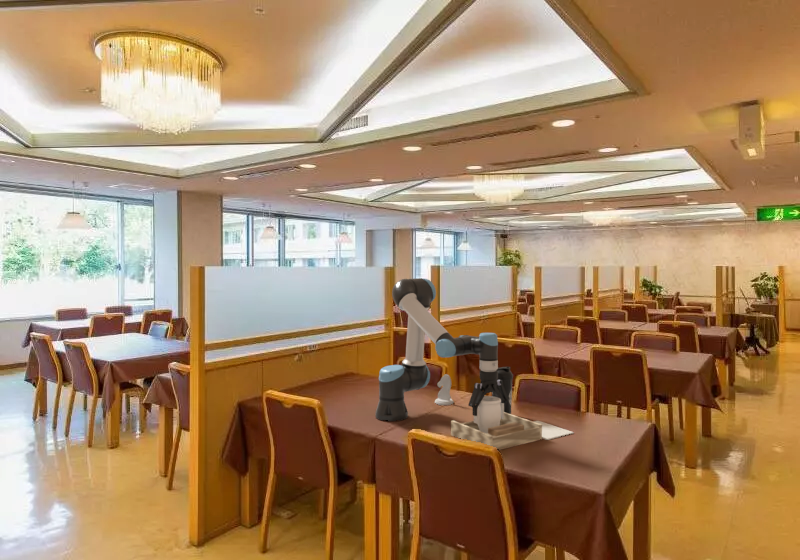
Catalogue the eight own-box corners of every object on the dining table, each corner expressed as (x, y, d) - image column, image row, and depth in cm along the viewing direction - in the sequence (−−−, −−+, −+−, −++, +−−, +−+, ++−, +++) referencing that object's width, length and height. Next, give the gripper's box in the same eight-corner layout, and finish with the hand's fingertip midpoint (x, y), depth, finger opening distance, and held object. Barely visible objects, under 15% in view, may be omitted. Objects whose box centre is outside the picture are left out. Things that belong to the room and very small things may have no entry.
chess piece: (441, 399, 278) (442, 371, 278) (457, 402, 272) (457, 373, 271) (430, 403, 270) (430, 374, 270) (446, 406, 264) (446, 376, 264)
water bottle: (512, 419, 242) (513, 369, 241) (490, 417, 244) (490, 368, 243) (512, 413, 252) (512, 365, 251) (491, 412, 254) (491, 364, 253)
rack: (450, 435, 219) (451, 420, 219) (500, 424, 234) (500, 410, 234) (490, 452, 199) (490, 436, 199) (541, 439, 214) (541, 424, 214)
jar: (473, 430, 225) (473, 395, 225) (497, 429, 226) (497, 395, 226) (479, 438, 215) (479, 402, 214) (504, 437, 215) (504, 401, 215)
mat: (512, 427, 230) (512, 426, 230) (537, 421, 238) (537, 420, 238) (547, 440, 213) (547, 438, 213) (573, 433, 221) (573, 432, 221)
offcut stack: (483, 443, 209) (483, 428, 209) (515, 435, 219) (515, 421, 219) (494, 448, 204) (494, 432, 204) (526, 439, 214) (526, 425, 214)
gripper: (471, 374, 210) (471, 427, 210) (516, 368, 223) (517, 418, 223) (459, 371, 216) (459, 423, 216) (504, 365, 229) (504, 414, 230)
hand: (489, 420), depth 220 cm, fingers open, 13 cm apart
